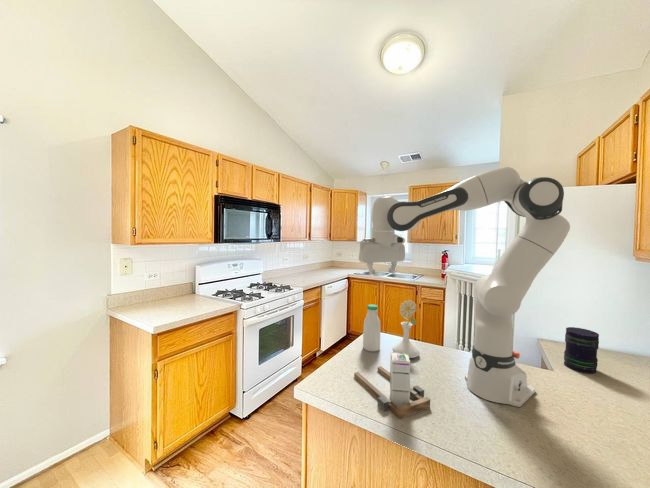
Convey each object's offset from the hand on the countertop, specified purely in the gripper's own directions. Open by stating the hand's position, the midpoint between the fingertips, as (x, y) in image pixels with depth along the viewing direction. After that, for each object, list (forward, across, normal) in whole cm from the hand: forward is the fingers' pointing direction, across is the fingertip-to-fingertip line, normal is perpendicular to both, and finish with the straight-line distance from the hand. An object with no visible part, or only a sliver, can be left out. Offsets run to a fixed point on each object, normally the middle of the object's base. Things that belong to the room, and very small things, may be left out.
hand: (381, 273), depth 107 cm
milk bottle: (+37, +6, +14) cm, 40 cm away
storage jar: (+37, +73, -35) cm, 89 cm away
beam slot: (+37, -8, -15) cm, 41 cm away
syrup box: (+37, -9, -22) cm, 44 cm away
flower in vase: (+37, +16, +2) cm, 41 cm away
